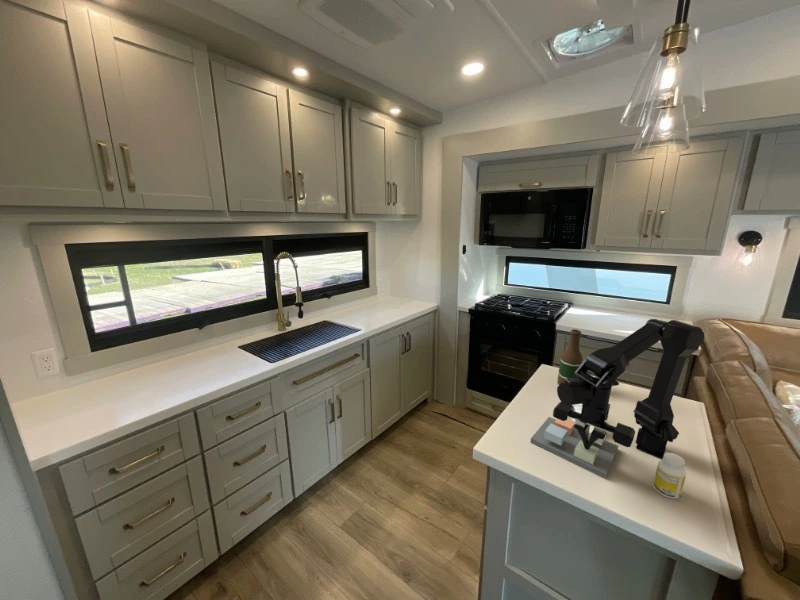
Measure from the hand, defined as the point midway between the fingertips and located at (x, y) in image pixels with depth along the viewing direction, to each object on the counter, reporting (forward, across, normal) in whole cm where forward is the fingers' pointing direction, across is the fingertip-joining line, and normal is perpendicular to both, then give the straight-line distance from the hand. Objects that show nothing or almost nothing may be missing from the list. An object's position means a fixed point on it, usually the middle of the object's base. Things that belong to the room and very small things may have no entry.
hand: (587, 448), depth 89 cm
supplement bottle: (+4, -18, -3) cm, 19 cm away
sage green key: (+2, 0, 0) cm, 2 cm away
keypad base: (+4, +4, -4) cm, 7 cm away
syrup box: (+1, +12, -25) cm, 28 cm away
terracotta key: (+2, +8, -8) cm, 12 cm away
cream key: (+1, 0, -8) cm, 8 cm away
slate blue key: (+1, +8, 0) cm, 8 cm away
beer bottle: (+4, +17, -41) cm, 45 cm away
